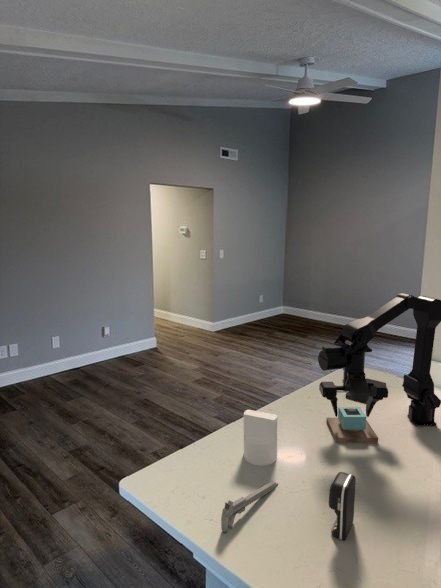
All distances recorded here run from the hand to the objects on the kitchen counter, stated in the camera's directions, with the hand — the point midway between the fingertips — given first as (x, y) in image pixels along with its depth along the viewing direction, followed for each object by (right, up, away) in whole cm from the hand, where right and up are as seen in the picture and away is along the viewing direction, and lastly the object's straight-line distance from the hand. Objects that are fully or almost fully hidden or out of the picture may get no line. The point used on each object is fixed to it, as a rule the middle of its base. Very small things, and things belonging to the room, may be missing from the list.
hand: (351, 416), depth 120 cm
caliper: (-32, -11, -30) cm, 45 cm away
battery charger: (-14, -12, -37) cm, 41 cm away
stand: (0, -5, +1) cm, 5 cm away
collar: (0, -2, 0) cm, 2 cm away
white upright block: (-28, -8, -11) cm, 31 cm away
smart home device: (+15, 0, +30) cm, 33 cm away
